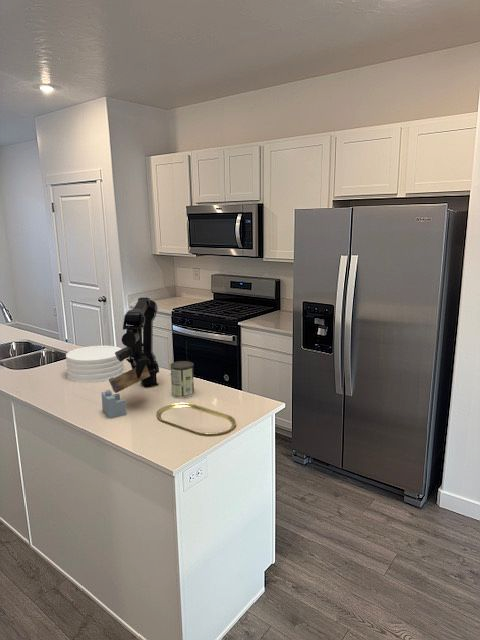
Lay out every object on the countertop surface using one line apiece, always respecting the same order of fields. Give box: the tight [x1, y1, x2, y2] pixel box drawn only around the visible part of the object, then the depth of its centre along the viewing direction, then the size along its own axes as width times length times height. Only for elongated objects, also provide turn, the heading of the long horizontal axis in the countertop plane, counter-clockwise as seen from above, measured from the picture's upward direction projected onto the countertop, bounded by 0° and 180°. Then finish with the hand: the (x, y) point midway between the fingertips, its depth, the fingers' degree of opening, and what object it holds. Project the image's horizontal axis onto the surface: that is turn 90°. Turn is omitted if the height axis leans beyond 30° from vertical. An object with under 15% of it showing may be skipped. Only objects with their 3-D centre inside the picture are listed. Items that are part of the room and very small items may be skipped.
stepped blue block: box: [100, 389, 127, 419], centre depth 179 cm, size 7×9×10 cm
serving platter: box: [156, 402, 237, 436], centre depth 173 cm, size 19×35×2 cm, turn 54°
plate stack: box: [65, 345, 125, 383], centre depth 228 cm, size 28×28×12 cm
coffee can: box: [169, 360, 195, 399], centre depth 199 cm, size 10×10×14 cm
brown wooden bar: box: [108, 366, 150, 394], centre depth 187 cm, size 16×4×6 cm, turn 122°
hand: (137, 376), depth 189 cm, fingers closed on brown wooden bar, 4 cm apart
